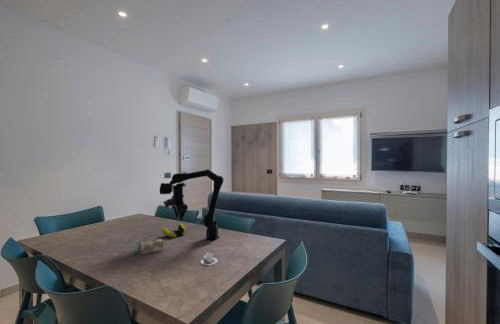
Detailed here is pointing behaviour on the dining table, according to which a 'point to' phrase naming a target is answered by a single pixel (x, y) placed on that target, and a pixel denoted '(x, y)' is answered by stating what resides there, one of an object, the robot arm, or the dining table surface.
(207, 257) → the teacup and saucer
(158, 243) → the birch block
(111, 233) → the dining table surface
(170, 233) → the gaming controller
